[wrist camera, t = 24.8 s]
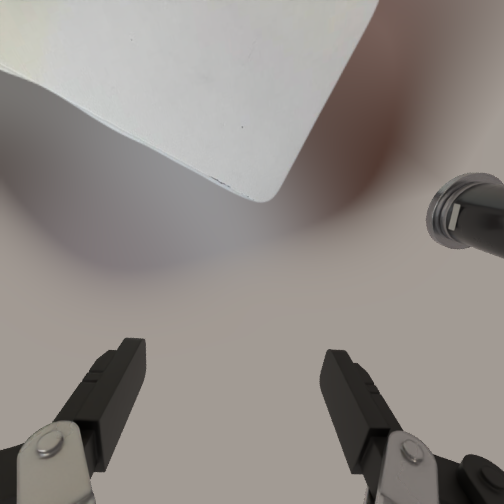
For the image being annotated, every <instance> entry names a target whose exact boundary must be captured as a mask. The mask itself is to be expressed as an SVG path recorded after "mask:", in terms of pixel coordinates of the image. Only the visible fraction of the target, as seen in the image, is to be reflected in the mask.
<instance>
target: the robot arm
mask: <svg viewBox="0 0 504 504" xmlns="http://www.w3.org/2000/svg"><path fill="white" fill-rule="evenodd" d="M440 225H441V229H442V232H443V233H444V235H445V236H446V237H447V238H449V239H450V240H453V241H455V242H458V243H462V244H466V245H468V246H471V247H474V248H476V249H479V250H482V251H484V252H487V253H490V254H493V255H495V256H499V257H501V258H504V185H501V184H492V183H486V182H474V183H470V184H467V185H465V186H463V187H461V188H460V189H458V190H457V191H456V192H454V193H453V194H452V195H451V196H450V198H449V199H448V200H447V202H446V203H445V205H444V207H443V209H442V212H441V217H440ZM145 373H146V343H145V339H141V338H140V339H139V338H125V339H124V340H123V342H122V343H121V345H120V346H119V348H118V349H117V350H108V351H107V352H106V353H104V354H103V355H102V356H101V357H99V358H98V359H97V360H96V361H95V363H94V364H93V366H92V367H91V368H90V370H89V373H87V374H86V376H85V377H84V379H83V380H82V382H81V383H80V384H79V385H78V387H77V388H76V390H75V391H74V392H73V394H72V395H71V397H70V398H69V400H68V401H67V402H66V404H65V405H64V407H63V408H62V410H61V411H60V412H59V414H58V415H57V417H56V418H55V419H54V421H53V422H52V423H51V424H49V425H46V426H45V427H43V428H41V429H39V430H38V431H37V432H35V433H34V434H33V435H32V436H30V437H29V438H28V439H27V441H26V442H25V443H23V444H20V445H17V446H14V447H11V448H7V449H3V450H0V504H96V501H95V497H94V494H93V492H92V487H91V482H90V479H91V477H92V475H93V472H105V471H106V469H107V466H108V464H109V461H110V459H111V457H112V454H113V452H114V450H115V447H116V445H117V443H118V440H119V438H120V436H121V433H122V431H123V429H124V426H125V424H126V421H127V419H128V417H129V414H130V412H131V410H132V407H133V405H134V403H135V400H136V398H137V395H138V393H139V391H140V389H141V386H142V384H143V381H144V378H145ZM320 388H321V392H322V394H323V397H324V400H325V403H326V405H327V408H328V411H329V414H330V416H331V419H332V422H333V425H334V427H335V430H336V433H337V436H338V438H339V441H340V444H341V446H342V449H343V452H344V455H345V457H346V460H347V463H348V465H349V468H350V471H351V474H363V475H364V478H365V480H366V483H367V485H368V486H367V489H366V493H365V498H364V503H363V504H504V471H502V470H501V469H500V468H499V467H498V466H496V465H495V464H493V463H492V462H490V461H489V460H487V459H485V458H483V457H480V456H477V455H472V454H469V455H466V456H465V457H464V458H463V460H462V462H461V463H460V464H459V463H456V462H454V461H451V460H448V459H445V458H442V457H439V456H436V455H434V454H432V452H431V451H430V450H429V448H428V447H427V446H426V445H425V444H424V443H423V442H422V441H421V440H419V439H418V438H417V437H415V436H413V435H411V434H410V433H407V432H404V431H403V429H402V428H401V426H400V424H399V423H398V421H397V420H396V418H395V416H394V415H393V413H392V411H391V410H390V408H389V407H388V405H387V403H386V402H385V400H384V398H383V397H382V395H380V392H379V390H378V389H377V387H376V386H375V385H374V382H373V381H372V379H371V377H370V376H369V374H368V373H367V372H366V371H365V370H364V369H363V368H362V367H361V366H360V365H359V364H358V363H353V362H352V360H351V358H350V357H349V355H348V353H347V352H346V351H345V350H331V349H329V350H327V352H326V355H325V359H324V362H323V366H322V370H321V374H320Z"/></svg>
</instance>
